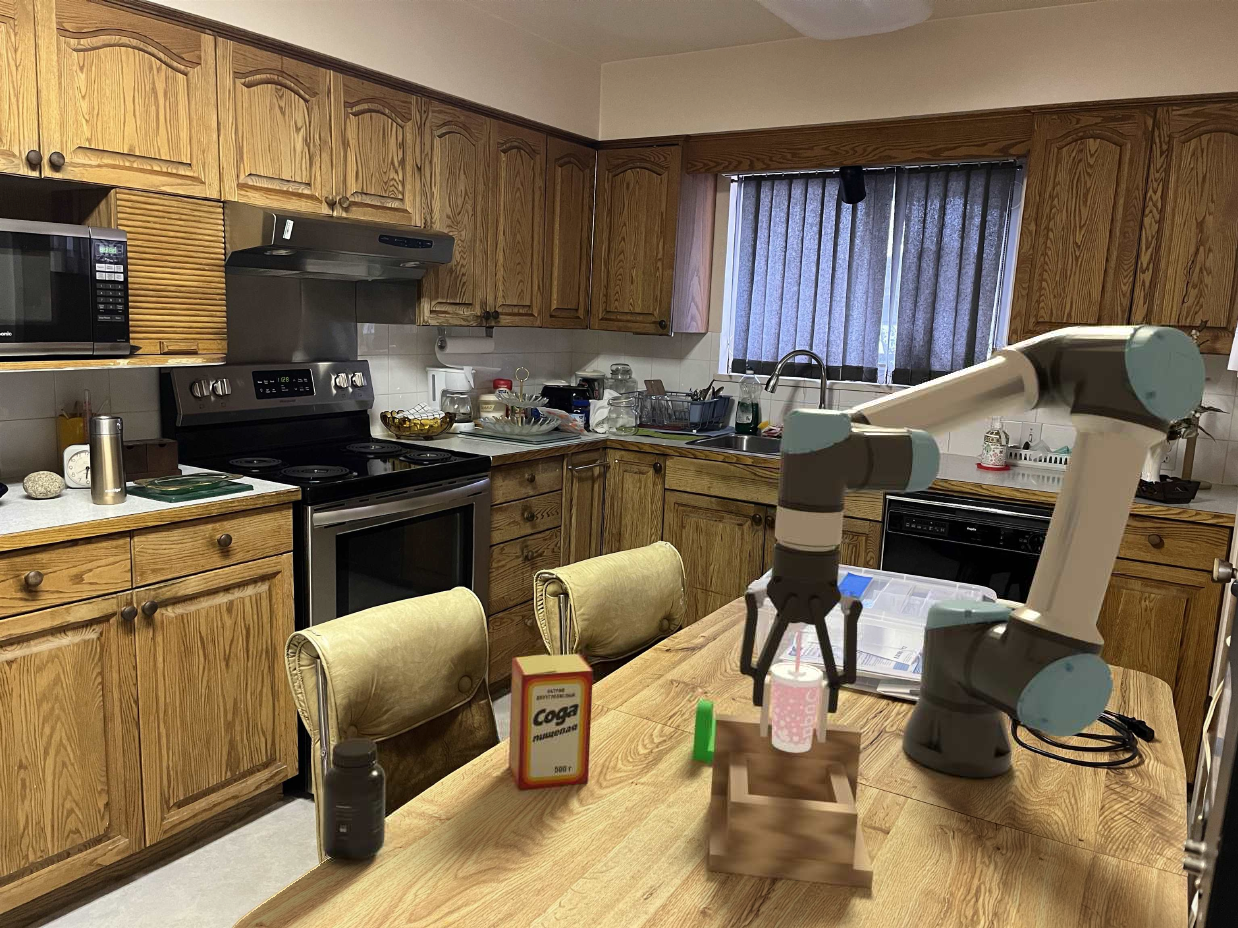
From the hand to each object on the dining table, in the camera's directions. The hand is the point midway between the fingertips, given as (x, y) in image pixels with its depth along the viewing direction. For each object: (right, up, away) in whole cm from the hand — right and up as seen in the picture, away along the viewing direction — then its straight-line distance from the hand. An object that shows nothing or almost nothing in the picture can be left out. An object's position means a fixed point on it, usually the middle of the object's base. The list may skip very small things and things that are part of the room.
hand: (791, 734), depth 109 cm
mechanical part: (-6, -10, +28) cm, 30 cm away
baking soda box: (-30, -10, +16) cm, 36 cm away
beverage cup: (0, -1, 0) cm, 1 cm away
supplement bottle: (-51, -12, -4) cm, 52 cm away
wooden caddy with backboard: (-1, -13, +2) cm, 13 cm away
